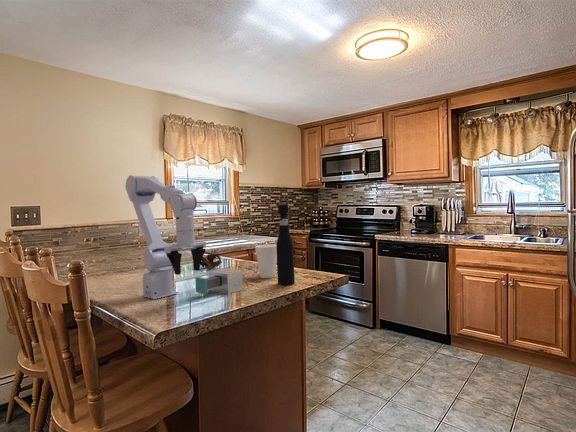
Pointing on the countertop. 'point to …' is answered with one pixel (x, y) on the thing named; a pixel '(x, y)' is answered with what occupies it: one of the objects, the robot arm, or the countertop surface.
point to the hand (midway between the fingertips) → (187, 272)
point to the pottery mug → (210, 261)
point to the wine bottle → (284, 250)
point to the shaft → (207, 283)
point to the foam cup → (266, 260)
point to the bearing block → (228, 280)
